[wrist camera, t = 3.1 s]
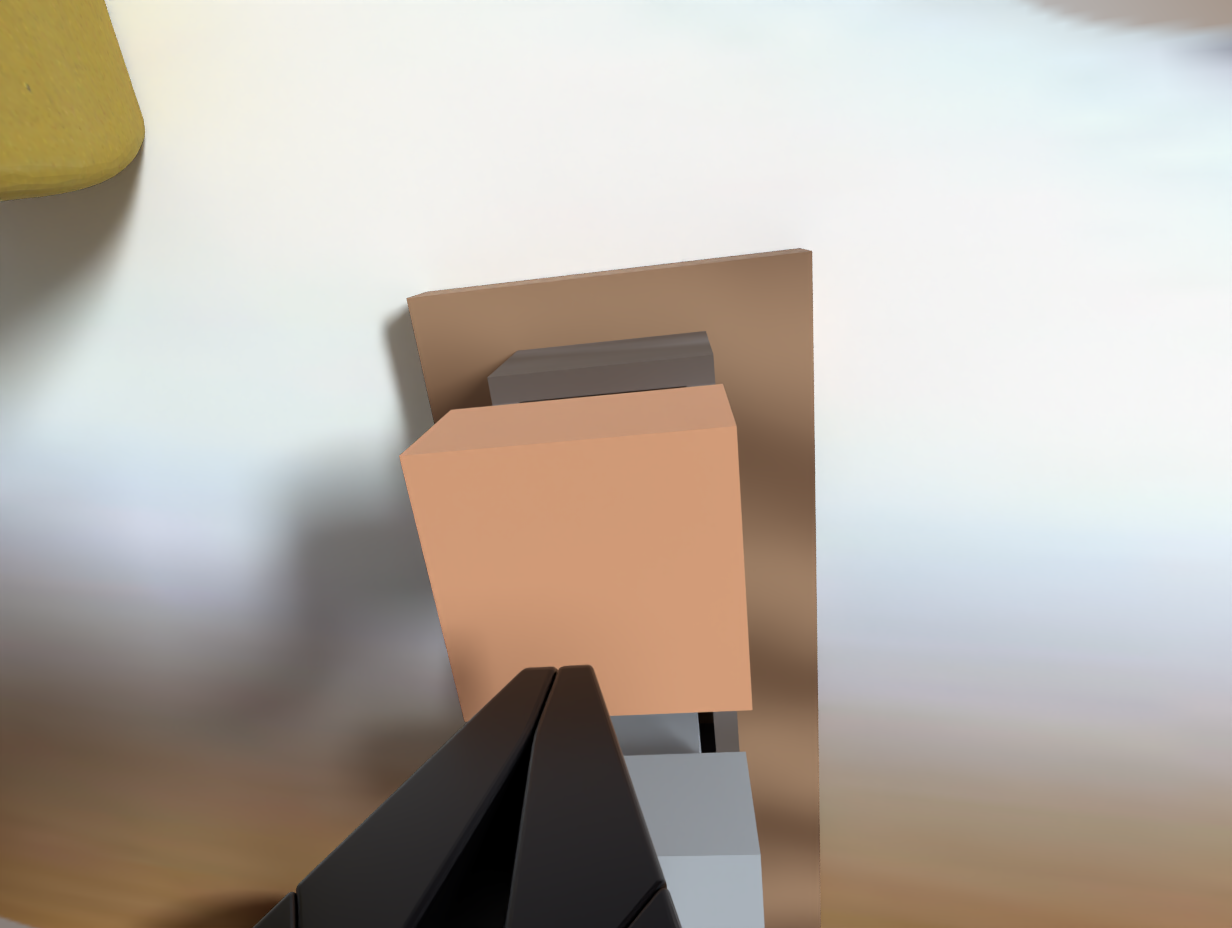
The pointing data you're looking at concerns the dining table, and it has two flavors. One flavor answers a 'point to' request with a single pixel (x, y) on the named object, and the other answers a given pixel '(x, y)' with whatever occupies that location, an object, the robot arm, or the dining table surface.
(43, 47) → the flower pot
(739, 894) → the slate button
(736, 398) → the walnut button board
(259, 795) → the dining table surface
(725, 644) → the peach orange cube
